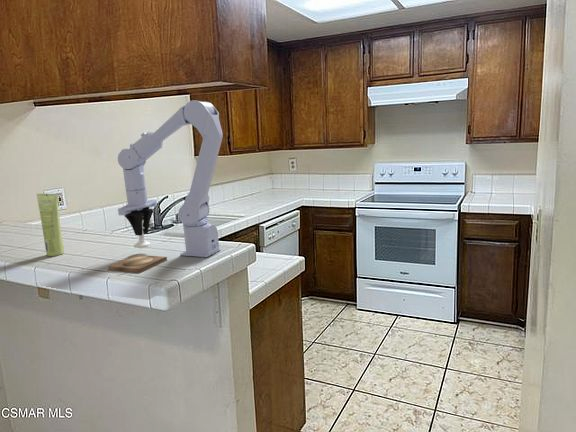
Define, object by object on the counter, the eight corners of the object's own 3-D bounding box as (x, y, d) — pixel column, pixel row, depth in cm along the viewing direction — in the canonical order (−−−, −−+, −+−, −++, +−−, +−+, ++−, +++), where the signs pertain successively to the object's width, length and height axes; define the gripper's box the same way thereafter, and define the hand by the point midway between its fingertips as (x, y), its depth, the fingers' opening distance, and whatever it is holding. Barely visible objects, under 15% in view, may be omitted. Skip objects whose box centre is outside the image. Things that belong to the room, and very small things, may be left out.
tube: (66, 250, 142) (56, 191, 138) (66, 254, 138) (56, 193, 134) (46, 254, 140) (36, 193, 136) (46, 257, 135) (35, 195, 132)
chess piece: (146, 248, 131) (144, 215, 129) (130, 247, 131) (128, 215, 129) (153, 244, 136) (151, 212, 134) (138, 243, 136) (135, 212, 134)
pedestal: (167, 260, 125) (166, 256, 125) (140, 272, 115) (140, 268, 115) (136, 257, 130) (136, 253, 129) (108, 269, 120) (108, 265, 119)
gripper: (141, 186, 138) (147, 228, 141) (107, 193, 125) (114, 239, 128) (160, 185, 135) (165, 228, 138) (126, 193, 122) (133, 240, 125)
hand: (141, 234), depth 133 cm, fingers closed on chess piece, 2 cm apart
